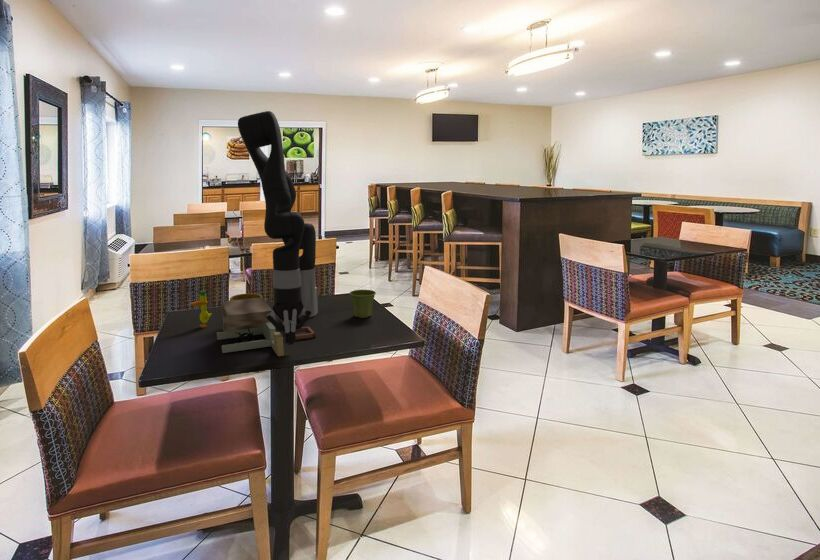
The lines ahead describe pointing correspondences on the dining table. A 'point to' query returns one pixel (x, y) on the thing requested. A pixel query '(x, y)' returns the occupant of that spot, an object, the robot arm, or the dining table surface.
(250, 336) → the creature
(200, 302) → the toy figure
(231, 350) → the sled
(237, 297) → the plant pot
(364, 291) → the plant pot
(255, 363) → the dining table surface
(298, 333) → the brown tray
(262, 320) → the tunnel
